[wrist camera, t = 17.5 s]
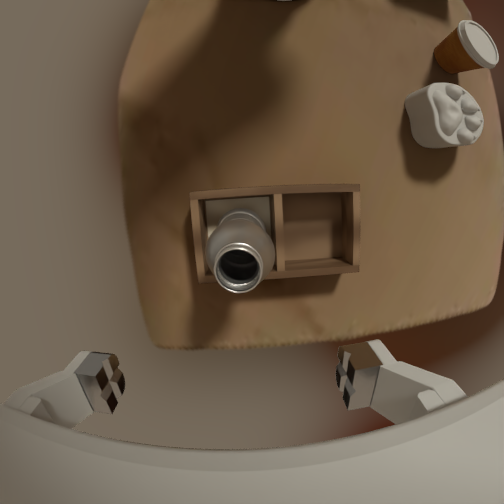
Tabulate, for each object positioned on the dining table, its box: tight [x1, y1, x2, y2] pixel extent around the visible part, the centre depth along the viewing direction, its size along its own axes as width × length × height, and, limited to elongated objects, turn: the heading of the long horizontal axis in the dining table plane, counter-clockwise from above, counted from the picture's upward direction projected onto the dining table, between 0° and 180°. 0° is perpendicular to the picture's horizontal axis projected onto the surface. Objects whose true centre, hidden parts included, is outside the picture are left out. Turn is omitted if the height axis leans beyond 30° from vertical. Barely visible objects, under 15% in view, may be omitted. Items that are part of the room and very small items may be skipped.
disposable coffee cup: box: [434, 20, 499, 74], centre depth 28 cm, size 10×10×12 cm
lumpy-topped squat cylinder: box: [405, 83, 484, 148], centre depth 33 cm, size 10×13×9 cm
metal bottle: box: [205, 208, 275, 293], centre depth 31 cm, size 6×7×20 cm
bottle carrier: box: [189, 184, 360, 283], centre depth 39 cm, size 12×22×6 cm, turn 93°
